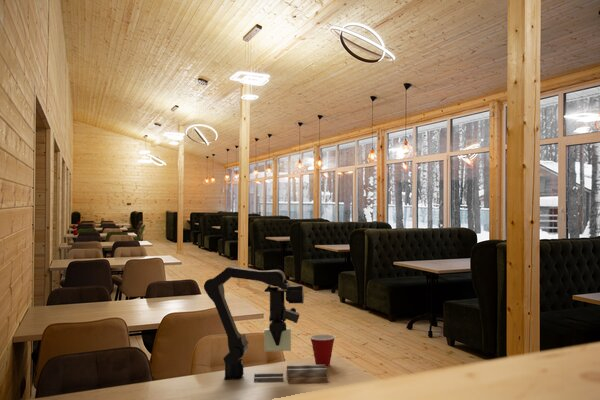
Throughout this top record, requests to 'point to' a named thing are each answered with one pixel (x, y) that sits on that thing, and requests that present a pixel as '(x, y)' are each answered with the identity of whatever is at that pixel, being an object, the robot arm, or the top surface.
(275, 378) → the grey upright bracket
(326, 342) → the plastic cup
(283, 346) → the door panel
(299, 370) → the track plinth
